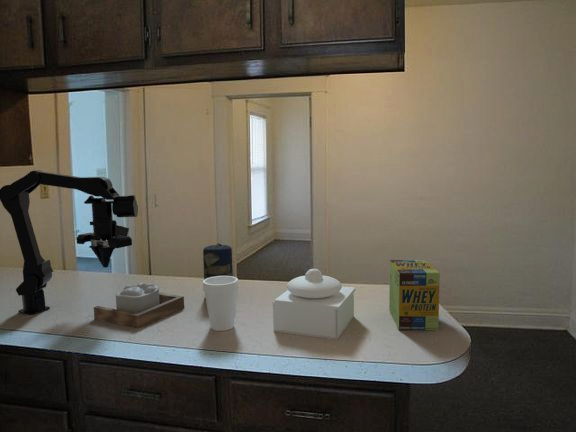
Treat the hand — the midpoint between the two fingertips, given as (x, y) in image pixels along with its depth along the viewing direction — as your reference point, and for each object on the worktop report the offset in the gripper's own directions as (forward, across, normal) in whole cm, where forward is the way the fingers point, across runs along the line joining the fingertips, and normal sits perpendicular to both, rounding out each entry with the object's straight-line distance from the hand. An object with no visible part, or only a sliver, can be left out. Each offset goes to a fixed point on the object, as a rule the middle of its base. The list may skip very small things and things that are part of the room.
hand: (105, 267), depth 141 cm
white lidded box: (+12, -66, -14) cm, 69 cm away
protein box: (+12, -89, -28) cm, 94 cm away
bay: (+13, -14, 0) cm, 19 cm away
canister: (+12, -26, -23) cm, 37 cm away
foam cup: (+12, -44, -1) cm, 45 cm away
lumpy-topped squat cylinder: (+13, -15, 0) cm, 19 cm away
